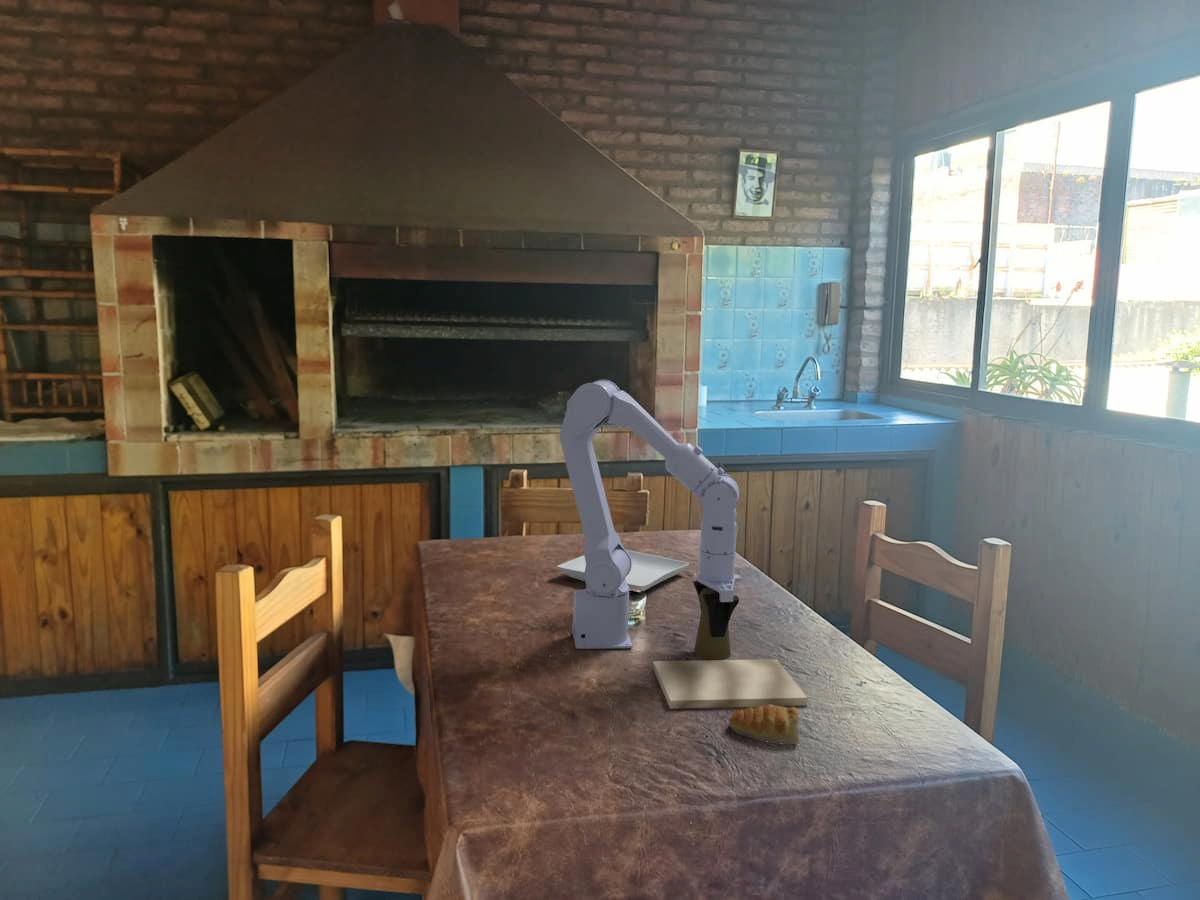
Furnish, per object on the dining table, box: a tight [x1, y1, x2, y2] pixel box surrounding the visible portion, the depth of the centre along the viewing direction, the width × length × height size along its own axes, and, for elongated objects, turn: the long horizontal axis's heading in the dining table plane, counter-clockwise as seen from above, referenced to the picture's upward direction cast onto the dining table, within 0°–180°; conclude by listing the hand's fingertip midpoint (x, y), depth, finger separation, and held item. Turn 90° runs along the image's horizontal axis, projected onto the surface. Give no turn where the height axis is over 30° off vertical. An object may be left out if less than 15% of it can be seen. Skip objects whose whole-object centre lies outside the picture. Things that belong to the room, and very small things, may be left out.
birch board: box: [652, 658, 808, 710], centre depth 128 cm, size 20×14×1 cm
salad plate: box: [556, 549, 690, 592], centre depth 181 cm, size 21×21×3 cm
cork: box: [693, 587, 732, 660], centre depth 141 cm, size 6×6×11 cm
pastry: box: [728, 704, 800, 745], centre depth 114 cm, size 9×7×4 cm
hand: (713, 630), depth 141 cm, fingers closed on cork, 5 cm apart
